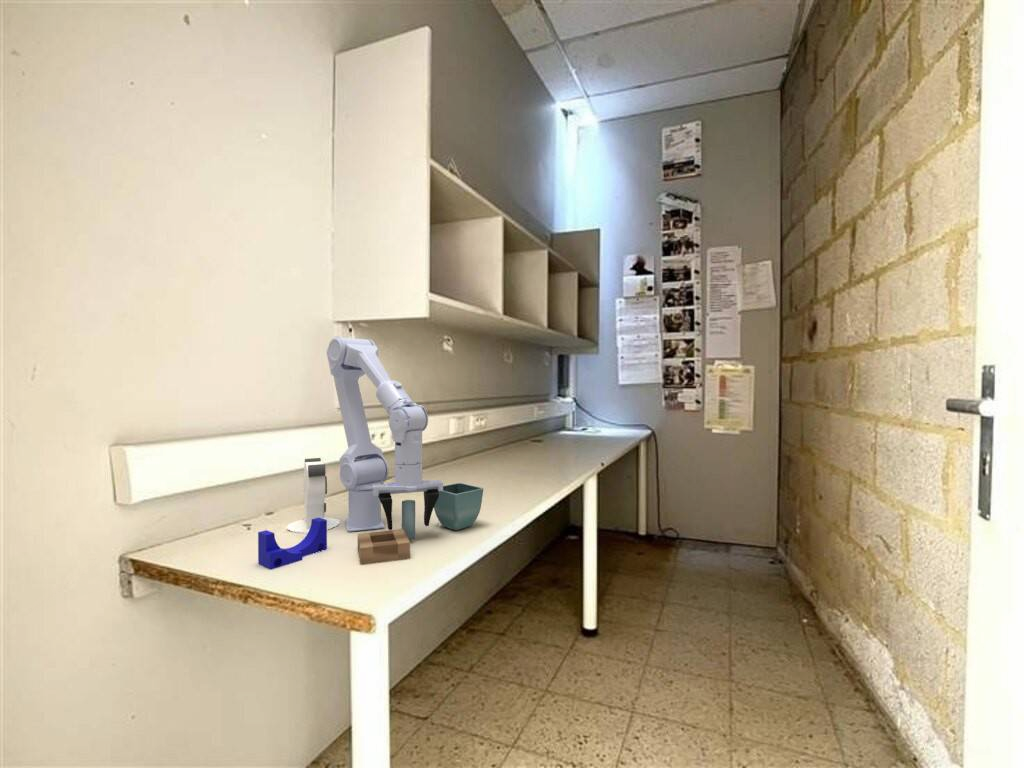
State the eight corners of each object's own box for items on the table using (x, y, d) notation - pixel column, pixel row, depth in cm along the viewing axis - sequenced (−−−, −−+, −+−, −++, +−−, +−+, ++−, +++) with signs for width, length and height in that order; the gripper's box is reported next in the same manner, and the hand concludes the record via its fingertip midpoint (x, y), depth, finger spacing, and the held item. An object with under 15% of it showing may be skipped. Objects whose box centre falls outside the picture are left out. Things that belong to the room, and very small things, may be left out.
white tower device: (343, 529, 110) (343, 463, 110) (288, 537, 105) (288, 467, 105) (336, 516, 121) (336, 456, 121) (285, 522, 116) (285, 459, 116)
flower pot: (484, 526, 113) (484, 487, 113) (456, 535, 106) (456, 494, 106) (459, 519, 119) (459, 482, 119) (430, 527, 112) (430, 488, 112)
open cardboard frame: (357, 548, 98) (357, 533, 98) (403, 543, 101) (403, 528, 101) (360, 564, 89) (360, 548, 89) (410, 558, 92) (410, 542, 92)
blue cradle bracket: (270, 570, 87) (270, 536, 87) (258, 564, 90) (258, 532, 90) (331, 551, 96) (331, 521, 96) (318, 547, 99) (318, 517, 99)
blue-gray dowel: (400, 537, 105) (400, 500, 104) (414, 536, 106) (414, 499, 105) (402, 541, 102) (402, 503, 102) (416, 540, 103) (416, 502, 103)
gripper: (374, 468, 97) (374, 536, 97) (446, 463, 102) (446, 528, 103) (371, 462, 104) (371, 526, 104) (439, 458, 109) (439, 519, 109)
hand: (408, 526), depth 104 cm, fingers open, 7 cm apart
